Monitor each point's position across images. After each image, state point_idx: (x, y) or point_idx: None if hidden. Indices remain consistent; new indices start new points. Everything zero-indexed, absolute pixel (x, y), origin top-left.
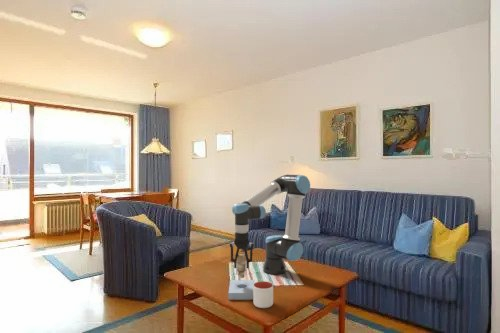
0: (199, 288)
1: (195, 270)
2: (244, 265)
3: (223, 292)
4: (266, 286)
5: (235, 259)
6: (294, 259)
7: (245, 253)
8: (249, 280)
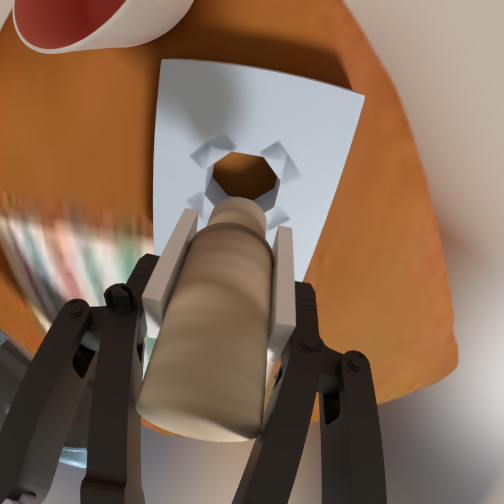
0: (441, 269)
1: (378, 390)
2: (182, 279)
3: (357, 197)
4: (60, 43)
5: (307, 373)
6: None
7: (116, 434)
8: None
